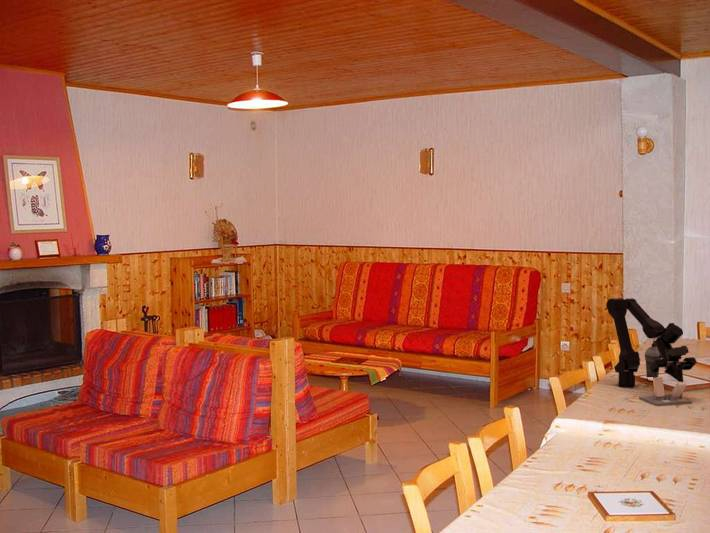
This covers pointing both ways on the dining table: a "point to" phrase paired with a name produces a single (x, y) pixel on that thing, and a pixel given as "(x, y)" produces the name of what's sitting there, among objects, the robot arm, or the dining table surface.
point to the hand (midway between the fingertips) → (681, 382)
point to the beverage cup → (651, 360)
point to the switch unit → (665, 400)
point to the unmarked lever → (658, 387)
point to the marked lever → (678, 389)
